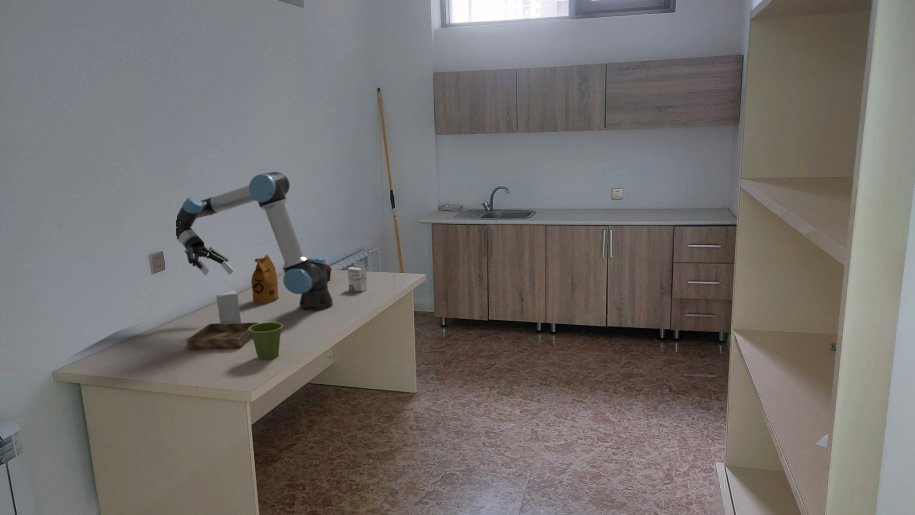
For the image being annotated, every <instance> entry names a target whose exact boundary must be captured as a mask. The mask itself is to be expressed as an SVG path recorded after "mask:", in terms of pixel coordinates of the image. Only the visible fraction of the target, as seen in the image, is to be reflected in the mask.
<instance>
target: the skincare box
mask: <svg viewBox="0 0 915 515" xmlns="http://www.w3.org/2000/svg"><path fill="white" fill-rule="evenodd" d="M215 296H216V297H215V298H216V304H217V309H218V318H219V323H242V319H241V312H240V305H239V296H238V293H237V291H236V290H230V291H224V292H217V293H215Z"/></svg>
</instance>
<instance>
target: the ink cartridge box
mask: <svg viewBox="0 0 915 515" xmlns="http://www.w3.org/2000/svg"><path fill="white" fill-rule="evenodd" d="M347 276H348V280H347V281H348V290H349V291H352V290H354V292H358V291H362V292H365V291H368V284H367V283H368V282H367V268H366V262H364V261H357V260H353V266H351V267H348V268H347ZM364 290H365V291H364Z"/></svg>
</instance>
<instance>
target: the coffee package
mask: <svg viewBox="0 0 915 515" xmlns="http://www.w3.org/2000/svg"><path fill="white" fill-rule="evenodd" d="M254 262H256V266H255V269H254V272H253V273H252V275H251V290H252V301H253V303H254V304H259V303H262V305H265V304H266V305H269V304H270V303H271V302H274V301H277V299H279V286H278V277H277V271H276V266H275V265H274V262H273V261H272V259H271V258H270V256H269V254H266V255H264V257H258V258H255V259H254Z"/></svg>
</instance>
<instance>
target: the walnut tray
mask: <svg viewBox="0 0 915 515" xmlns="http://www.w3.org/2000/svg"><path fill="white" fill-rule="evenodd" d="M256 324H259V322H241V323H220V322H219V323H217V322H216V323H208V324H207V325H205V326H204V327H203V328H202V329H200V330H199V331H197V332H196V333H194V334H193V335H191V336H190V337H189V338H187V339H186V345H187V350H189V351H194V350H195V351H196V350H240V349H242V348H243V347H244V346H245V345H246V344H248V343H249V342H250V341H251V340H253V337H252V335H251V332H250V331H249V330H248V329H249V327H251V326H253V325H256Z"/></svg>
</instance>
